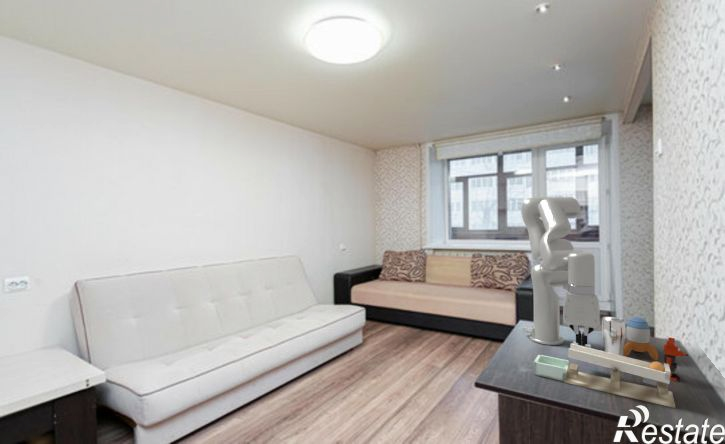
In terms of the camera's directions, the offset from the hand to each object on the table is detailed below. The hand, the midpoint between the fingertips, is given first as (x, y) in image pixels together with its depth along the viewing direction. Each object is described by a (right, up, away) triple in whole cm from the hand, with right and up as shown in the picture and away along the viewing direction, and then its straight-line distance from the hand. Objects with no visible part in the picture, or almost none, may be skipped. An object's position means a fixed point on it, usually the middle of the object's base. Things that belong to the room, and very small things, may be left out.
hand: (581, 345), depth 118 cm
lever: (+5, -4, -8) cm, 10 cm away
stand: (+3, -8, -12) cm, 15 cm away
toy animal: (+26, -8, -6) cm, 28 cm away
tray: (-11, -9, -1) cm, 14 cm away
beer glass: (+16, -8, +7) cm, 19 cm away
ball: (+10, 0, -17) cm, 20 cm away
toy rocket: (+29, -8, +12) cm, 32 cm away
